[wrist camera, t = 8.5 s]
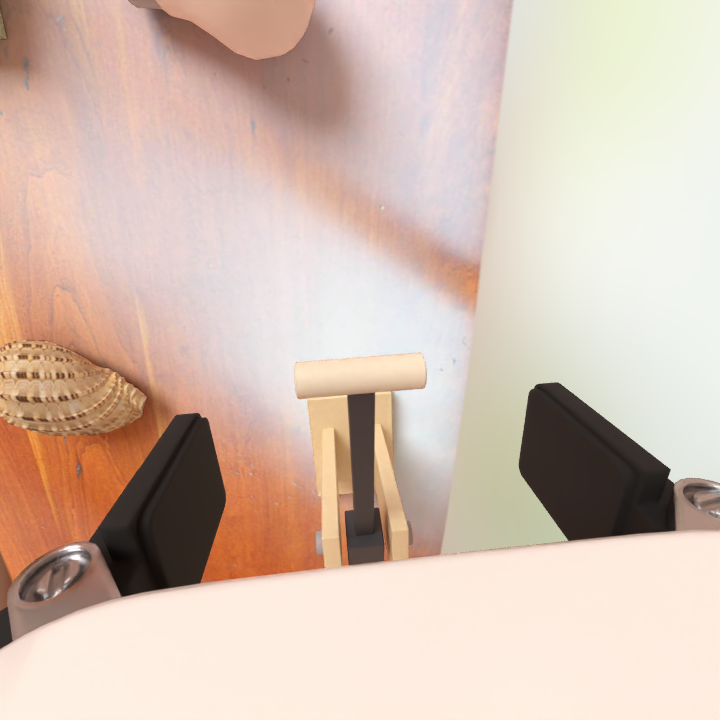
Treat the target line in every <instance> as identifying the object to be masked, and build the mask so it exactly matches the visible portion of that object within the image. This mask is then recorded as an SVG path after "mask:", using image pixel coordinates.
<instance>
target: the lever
mask: <svg viewBox="0 0 720 720" xmlns="http://www.w3.org/2000/svg"><path fill="white" fill-rule="evenodd" d="M294 379H295V389H296V395H297V398H298V399H305V398H317V397H329V396H341V395H347V404H348V421H349V438H350V456H351V473H352V490H353V507H354V510H350V511H345V523H346V537H347V550H348V561H349V565H357V564H365V563H374V562H383V561H384V538H383V531H382V524H381V517H380V511H379V508H374V457H375V393H376V392H388V391H400V390H412V389H423V388H425V385H426V379H427V374H426V364H425V360H424V357H423V355H422V353H408V354H395V355H382V356H370V357H357V358H344V359H331V360H319V361H306V362H296V363H295V366H294Z"/></svg>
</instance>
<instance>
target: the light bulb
mask: <svg viewBox="0 0 720 720" xmlns="http://www.w3.org/2000/svg"><path fill="white" fill-rule="evenodd" d="M128 1H129V2H130V3H131V4H133V5H134V6H135V7H137V8H147V9H163V10H164V11H165V12H167V13H168V14H169V15H170V16H173V17H177V18H181V19H185V20H189V21H191V22H193V23H194V24H196V25H197V26H199V27H200V28H202V29H203V30H205V31H206V32H208V33H209V34H211V35H212V36H213V37H215V38H216V39H217V40H219V41H220V42H221V43H223V44H224V45H225V46H227V47H228V48H229V49H231V50H232V51H233V52H235V53H236V54H239V55H242V56H245V57H248V58H252V59H255V60H260V59H265V58H271V57H276V56H281V55H284V54H285V53H287V52H288V51H290V50H291V49H293V48H294V47H295V46H296V45H297V43H298V42H299V40H300V39H301V38H302V36H303V35H304V33H305V31H306V29H307V27H308V24H309V21H310V18H311V14H312V11H313V8H314V5H315V0H128Z"/></svg>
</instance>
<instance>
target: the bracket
mask: <svg viewBox="0 0 720 720" xmlns="http://www.w3.org/2000/svg"><path fill="white" fill-rule="evenodd" d="M307 403H308V412H309V421H310V430H311V438H312V447H313V456H314V465H315V474H316V482H317V491H318V497H320V496H322V530H319V531H316V551H317V555H324V564H325V568H331V567H340V566H343V559H342V541H341V522H340V503H339V495H340V494H350V493H353V490H352V473H351V456H350V438H349V421H348V404H347V395H341V396H329V397H317V398H307ZM374 491H376V495H377V501H378V506H379V511H380V517H381V522H382V528H383V533H384V539H385V544H386V550H387V555H388V560H389V561H391V560H400V559H409V545H412V544H413V534H412V528H411V524H410V522H409V521H406V518H405V514H404V510H403V506H402V502H401V499H400V495H399V491H398V487H397V483H396V480H395V476H394V472H393V434H392V393H391V391H388V392H376V393H375V457H374Z"/></svg>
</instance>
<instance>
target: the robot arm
mask: <svg viewBox="0 0 720 720" xmlns="http://www.w3.org/2000/svg"><path fill="white" fill-rule="evenodd" d="M519 469H520V473H521V475H522V477H523V478H524V479H525V481H526V482H527V484H528V485H529V486H530V488H531V489H532V490H533V492H534V493H535V495H536V496H537V497H538V499H539V500H540V501H541V503H542V504H543V506H544V507H545V508H546V510H547V511H548V513H549V514H550V516H551V517H552V518H553V520H554V521H555V522H556V524H557V525H558V527H559V528H560V529H561V531H562V532H563V533H564V535H565V536H566V538H567V539H568V541H564V542H554V543H545V544H536V545H527V546H518V547H508V548H499V549H489V550H480V551H472V552H462V553H453V554H444V555H435V556H426V557H418V558H409V559H400V560H391V561H383V562H374V563H365V564H357V565H348V566H340V567H331V568H323V569H315V570H306V571H298V572H289V573H281V574H273V575H264V576H256V577H248V578H239V579H231V580H223V581H215V582H207V583H200V582H201V579H202V576H203V573H204V569H205V566H206V563H207V560H208V557H209V554H210V551H211V548H212V545H213V541H214V538H215V535H216V532H217V529H218V526H219V523H220V520H221V516H222V513H223V510H224V507H225V502H226V493H225V489H224V484H223V480H222V476H221V472H220V468H219V463H218V459H217V455H216V451H215V447H214V442H213V438H212V434H211V430H210V426H209V422H208V419H207V418H201V416H200V414H199V413H193V414H181V415H176V416H175V417H174V419H173V420H172V422H171V423H170V424H169V426H168V427H167V429H166V430H165V432H164V433H163V435H162V436H161V438H160V439H159V441H158V442H157V443H156V445H155V446H154V448H153V449H152V451H151V452H150V454H149V455H148V457H147V458H146V460H145V461H144V463H143V464H142V465H141V467H140V468H139V469H138V470H137V472H136V473H135V475H134V476H133V478H132V479H131V481H130V482H129V484H128V485H127V486H126V488H125V489H124V491H123V492H122V494H121V495H120V497H119V498H118V500H117V501H116V502H115V504H114V505H113V507H112V508H111V510H110V511H109V513H108V514H107V516H106V517H105V519H104V520H103V521H102V523H101V524H100V526H99V527H98V529H97V530H96V532H95V533H94V535H93V536H92V537H91V539H90V540H89V542H74V543H70V544H66V545H63V546H61V547H58V548H56V549H54V550H51V551H49V552H48V553H46V554H44V555H43V556H41V557H39V558H38V559H36V560H35V561H34V562H32V563H31V564H30V565H29V566H27V567H26V568H25V569H24V570H23V571H22V572H21V573H20V574H19V575H18V576H17V578H16V579H15V580H14V581H13V583H12V585H11V587H10V589H9V591H8V596H7V605H8V607H6V608H5V609H3V610H1V611H0V720H720V483H717V482H714V481H710V480H705V479H700V478H686V479H681V480H679V481H678V482H676V483H675V484H674V483H673V482H672V481H670V480H669V479H668V476H669V473H670V469H669V468H668V467H667V466H665V465H664V464H663V463H661V462H660V461H659V460H658V459H656V458H655V457H654V456H653V455H651V454H650V453H648V452H647V451H646V450H645V449H643V448H642V447H641V446H640V445H638V444H637V443H636V442H635V441H633V440H632V439H631V438H629V437H628V436H627V435H626V434H624V433H623V432H622V431H620V430H619V429H618V428H616V427H615V426H614V425H613V424H611V423H610V422H609V421H607V420H606V419H605V418H604V417H602V416H601V415H600V414H598V413H597V412H596V411H595V410H593V409H592V408H591V407H589V406H588V405H587V404H586V403H584V402H583V401H582V400H580V399H579V398H578V397H577V396H575V395H574V394H573V393H571V392H570V391H569V390H568V389H566V388H565V387H564V386H562V385H561V384H559V383H545V384H537V385H536V386H535V388H534V389H532V390H531V391H530V392H529V396H528V403H527V410H526V417H525V424H524V431H523V437H522V444H521V452H520V459H519Z"/></svg>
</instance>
